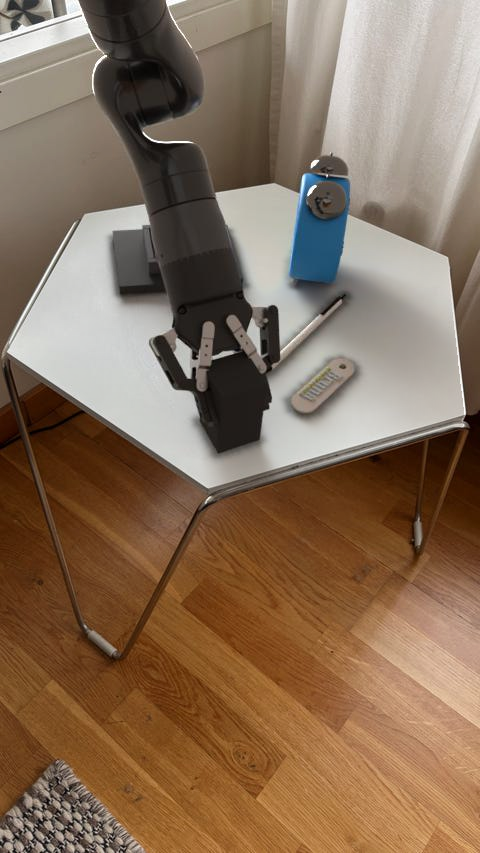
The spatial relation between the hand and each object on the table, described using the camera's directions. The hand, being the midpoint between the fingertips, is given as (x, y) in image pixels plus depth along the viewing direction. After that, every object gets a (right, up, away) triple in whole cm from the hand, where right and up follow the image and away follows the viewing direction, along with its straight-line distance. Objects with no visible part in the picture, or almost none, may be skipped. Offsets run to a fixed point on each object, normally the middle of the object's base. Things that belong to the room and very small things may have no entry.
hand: (239, 417), depth 73 cm
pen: (+8, +10, +15) cm, 20 cm away
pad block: (-1, -1, +4) cm, 5 cm away
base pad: (-9, +21, +22) cm, 32 cm away
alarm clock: (+10, +20, +23) cm, 32 cm away
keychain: (+10, +4, +9) cm, 14 cm away
